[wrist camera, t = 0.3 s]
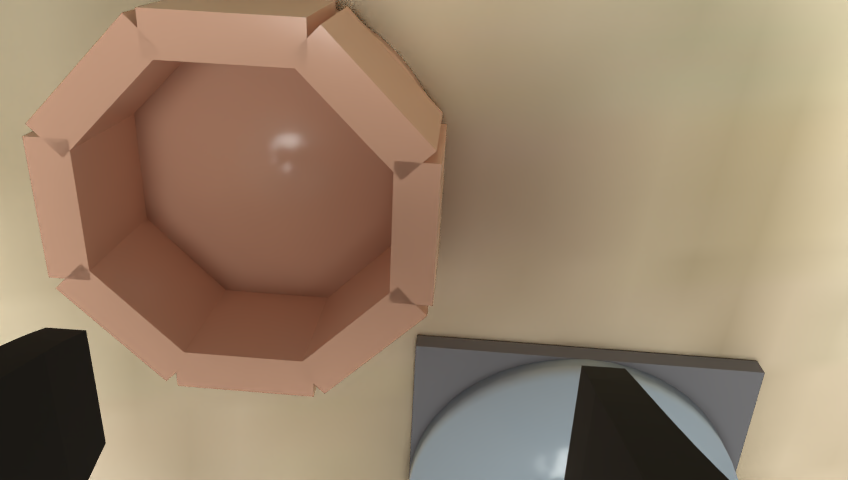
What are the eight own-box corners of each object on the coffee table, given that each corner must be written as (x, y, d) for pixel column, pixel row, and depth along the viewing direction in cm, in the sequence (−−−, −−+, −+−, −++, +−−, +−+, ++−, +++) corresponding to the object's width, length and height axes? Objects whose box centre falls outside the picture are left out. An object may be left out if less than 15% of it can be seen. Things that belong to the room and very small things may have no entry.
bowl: (435, 321, 21) (426, 405, 18) (136, 299, 22) (67, 376, 18) (455, 3, 17) (449, 26, 14) (94, -18, 18) (-4, -2, 14)
